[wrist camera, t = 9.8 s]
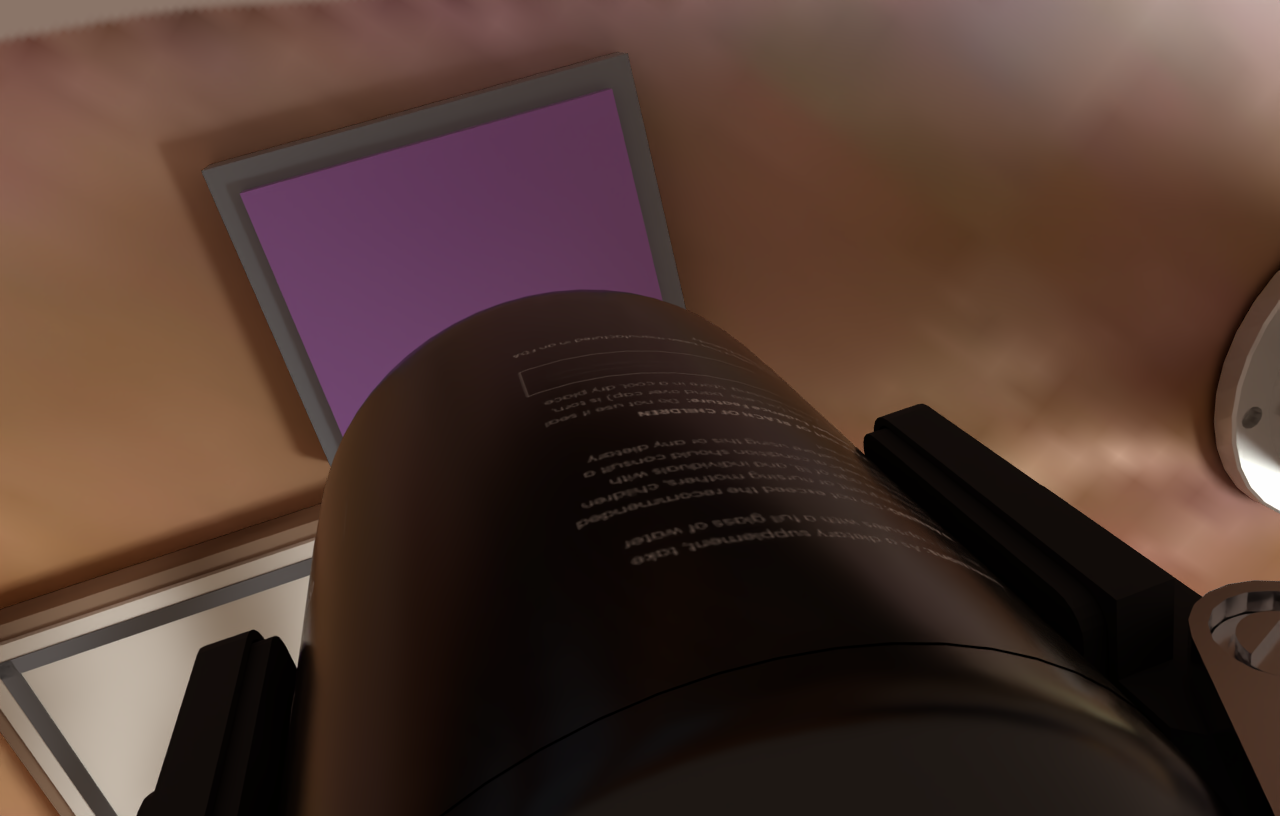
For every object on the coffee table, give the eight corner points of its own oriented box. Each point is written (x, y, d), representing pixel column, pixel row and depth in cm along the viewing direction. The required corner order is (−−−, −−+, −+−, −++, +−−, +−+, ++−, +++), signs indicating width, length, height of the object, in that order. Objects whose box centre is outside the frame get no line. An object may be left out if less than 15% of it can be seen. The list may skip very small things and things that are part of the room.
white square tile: (368, 488, 28) (367, 507, 27) (487, 771, 33) (491, 797, 32) (-47, 625, 26) (-66, 651, 25) (146, 900, 31) (137, 933, 30)
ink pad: (617, 52, 25) (631, 53, 24) (686, 352, 29) (702, 369, 27) (209, 164, 24) (198, 173, 22) (339, 465, 27) (337, 489, 26)
